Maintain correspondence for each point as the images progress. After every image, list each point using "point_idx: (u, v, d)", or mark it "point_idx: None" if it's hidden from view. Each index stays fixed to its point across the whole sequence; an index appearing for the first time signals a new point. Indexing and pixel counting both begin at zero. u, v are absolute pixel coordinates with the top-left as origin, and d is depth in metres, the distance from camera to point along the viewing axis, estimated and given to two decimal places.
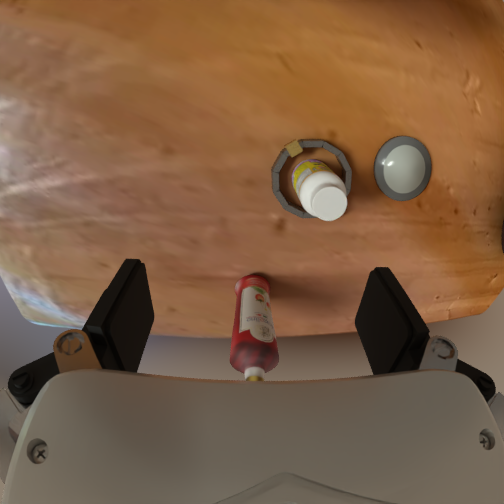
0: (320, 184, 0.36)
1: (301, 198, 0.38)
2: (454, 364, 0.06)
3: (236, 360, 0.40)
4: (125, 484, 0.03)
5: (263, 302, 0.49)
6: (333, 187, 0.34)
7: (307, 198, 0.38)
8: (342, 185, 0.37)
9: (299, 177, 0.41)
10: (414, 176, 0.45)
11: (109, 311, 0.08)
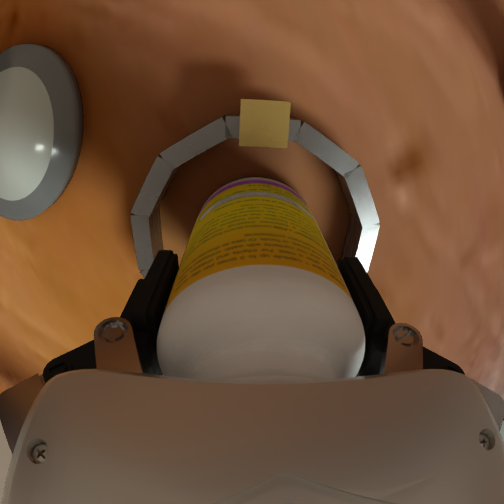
0: None
1: None
2: (421, 350, 0.07)
3: None
4: (125, 484, 0.03)
5: None
6: None
7: None
8: None
9: None
10: None
11: (150, 298, 0.08)
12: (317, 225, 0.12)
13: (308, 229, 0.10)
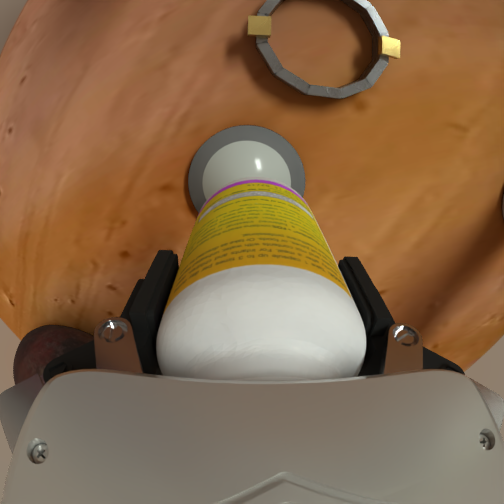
0: None
1: None
2: (420, 350, 0.07)
3: None
4: (125, 484, 0.03)
5: None
6: None
7: None
8: None
9: None
10: None
11: (150, 298, 0.08)
12: (317, 224, 0.12)
13: (307, 228, 0.10)
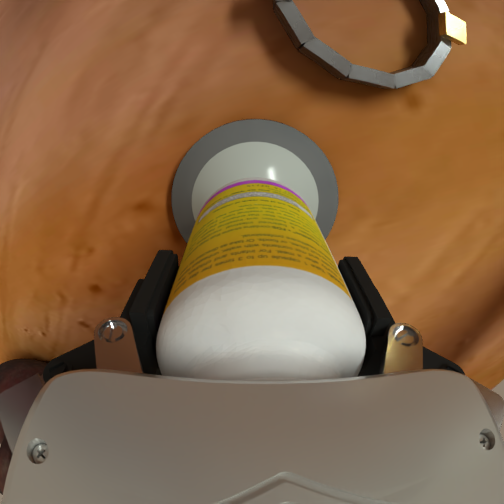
0: None
1: None
2: (421, 350, 0.07)
3: None
4: (125, 484, 0.03)
5: None
6: None
7: None
8: None
9: None
10: None
11: (150, 298, 0.08)
12: (317, 224, 0.12)
13: (307, 229, 0.10)
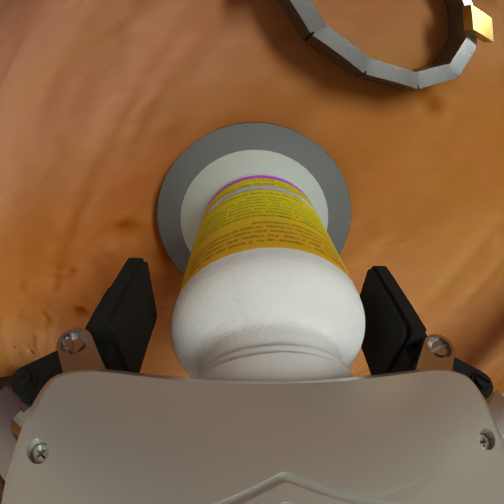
0: None
1: None
2: (451, 363, 0.07)
3: None
4: (125, 484, 0.03)
5: None
6: None
7: None
8: (179, 357, 0.09)
9: None
10: None
11: (112, 309, 0.08)
12: (318, 216, 0.13)
13: (310, 218, 0.11)
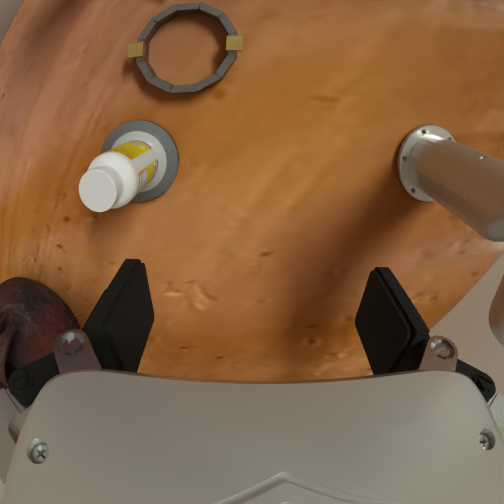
0: None
1: (133, 192, 0.29)
2: (454, 364, 0.06)
3: None
4: (125, 484, 0.03)
5: None
6: (88, 207, 0.27)
7: (124, 193, 0.29)
8: None
9: None
10: None
11: (109, 310, 0.08)
12: (145, 151, 0.33)
13: (132, 148, 0.31)
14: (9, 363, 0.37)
